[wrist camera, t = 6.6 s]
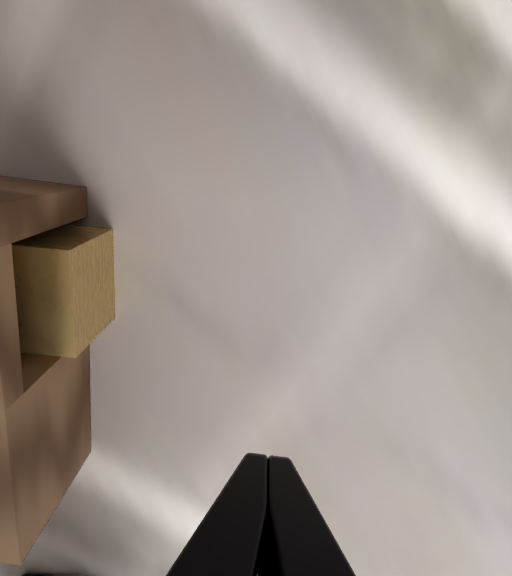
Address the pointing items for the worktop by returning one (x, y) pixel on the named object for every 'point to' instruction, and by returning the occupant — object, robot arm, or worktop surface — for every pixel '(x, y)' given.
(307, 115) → the worktop surface
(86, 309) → the brass block
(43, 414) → the walnut beam
